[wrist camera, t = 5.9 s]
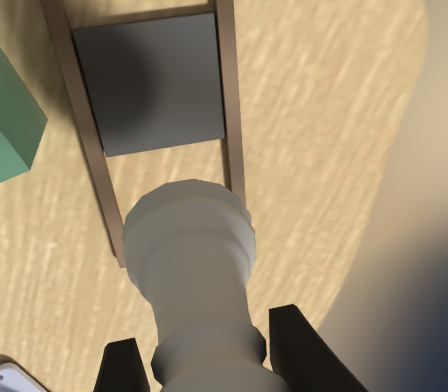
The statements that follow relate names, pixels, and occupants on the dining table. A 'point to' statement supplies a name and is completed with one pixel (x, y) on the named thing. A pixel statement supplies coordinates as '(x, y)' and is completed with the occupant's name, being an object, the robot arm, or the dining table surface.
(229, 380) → the rook chess piece
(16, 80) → the green die
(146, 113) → the track board
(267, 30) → the dining table surface
